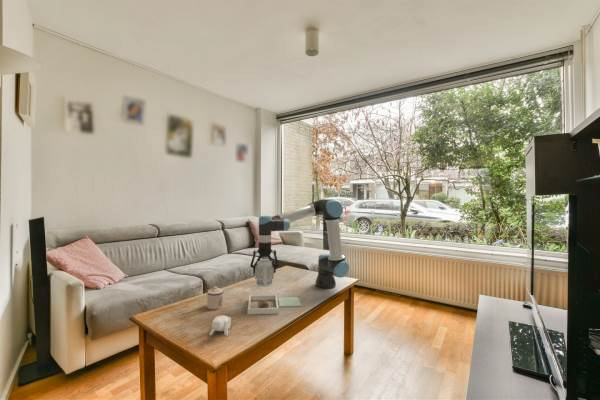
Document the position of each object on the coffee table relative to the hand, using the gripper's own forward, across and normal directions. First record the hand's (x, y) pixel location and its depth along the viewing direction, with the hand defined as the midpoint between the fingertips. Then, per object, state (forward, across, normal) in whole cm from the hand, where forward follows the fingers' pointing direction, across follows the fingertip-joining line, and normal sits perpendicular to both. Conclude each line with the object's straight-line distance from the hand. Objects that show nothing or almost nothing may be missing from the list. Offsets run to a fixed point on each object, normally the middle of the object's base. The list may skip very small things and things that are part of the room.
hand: (264, 278), depth 165 cm
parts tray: (+16, +1, +4) cm, 16 cm away
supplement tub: (+4, 0, 0) cm, 4 cm away
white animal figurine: (+15, +21, +33) cm, 42 cm away
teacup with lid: (+15, +29, +1) cm, 32 cm away
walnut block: (+16, +1, +10) cm, 18 cm away
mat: (+16, -15, -1) cm, 22 cm away
